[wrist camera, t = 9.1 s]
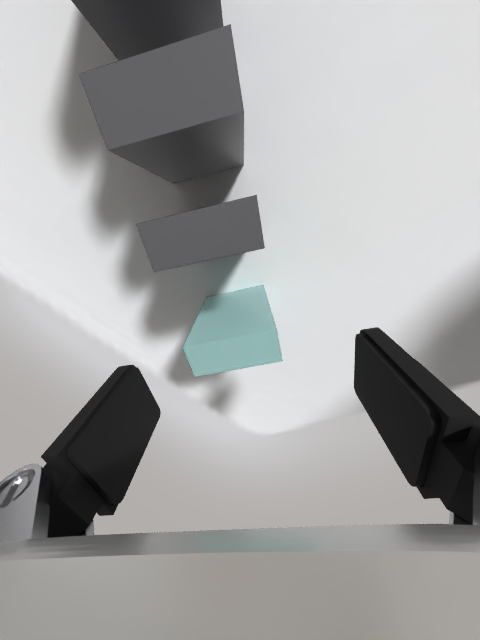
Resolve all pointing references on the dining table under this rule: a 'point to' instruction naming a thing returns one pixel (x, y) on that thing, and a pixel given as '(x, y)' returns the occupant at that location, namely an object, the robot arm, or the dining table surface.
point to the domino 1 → (149, 22)
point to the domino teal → (233, 333)
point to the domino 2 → (173, 107)
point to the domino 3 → (203, 234)
